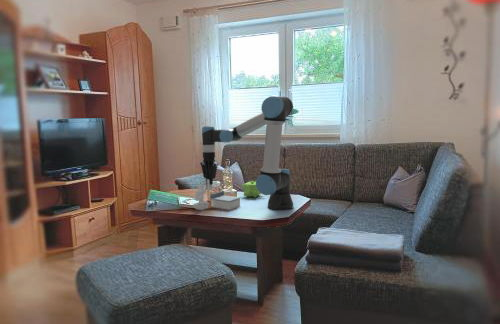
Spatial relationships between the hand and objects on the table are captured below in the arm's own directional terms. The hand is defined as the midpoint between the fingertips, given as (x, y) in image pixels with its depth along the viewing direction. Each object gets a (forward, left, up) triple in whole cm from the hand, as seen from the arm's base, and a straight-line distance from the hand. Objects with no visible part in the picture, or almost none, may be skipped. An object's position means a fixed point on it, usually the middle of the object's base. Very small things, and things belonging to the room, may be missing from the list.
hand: (209, 189), depth 225 cm
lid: (-12, 0, -5) cm, 13 cm away
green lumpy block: (-8, -34, -10) cm, 36 cm away
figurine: (-3, +11, -10) cm, 15 cm away
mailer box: (-12, 0, -10) cm, 16 cm away
